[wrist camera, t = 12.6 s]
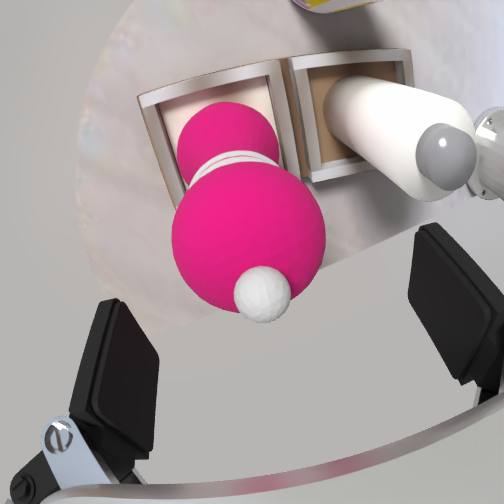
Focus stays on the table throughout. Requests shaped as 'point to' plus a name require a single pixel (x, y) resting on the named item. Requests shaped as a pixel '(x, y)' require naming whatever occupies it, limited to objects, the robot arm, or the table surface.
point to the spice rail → (273, 108)
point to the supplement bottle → (331, 5)
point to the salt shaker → (404, 133)
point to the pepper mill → (243, 215)
